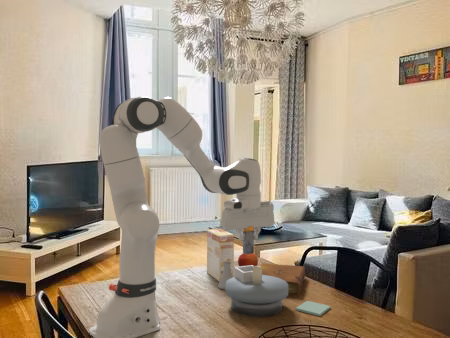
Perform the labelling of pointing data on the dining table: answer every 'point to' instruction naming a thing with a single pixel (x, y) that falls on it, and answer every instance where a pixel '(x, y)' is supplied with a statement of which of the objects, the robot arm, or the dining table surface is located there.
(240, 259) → the tomato
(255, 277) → the dial
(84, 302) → the dining table surface
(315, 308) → the mat
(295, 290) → the diary
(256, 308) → the base
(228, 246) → the coffeecake box
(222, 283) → the flask
